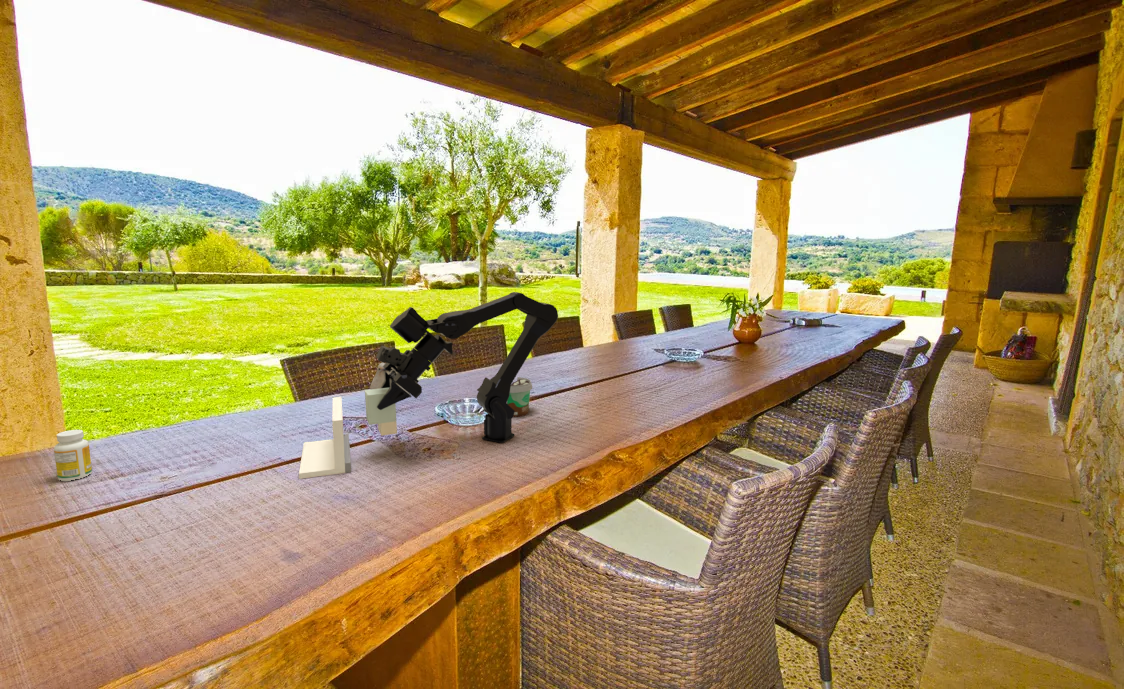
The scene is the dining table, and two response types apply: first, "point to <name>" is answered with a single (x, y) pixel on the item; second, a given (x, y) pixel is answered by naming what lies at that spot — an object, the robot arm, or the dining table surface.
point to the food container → (520, 396)
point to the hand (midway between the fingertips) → (376, 405)
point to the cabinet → (380, 412)
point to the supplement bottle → (72, 456)
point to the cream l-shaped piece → (327, 450)
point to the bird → (378, 377)
